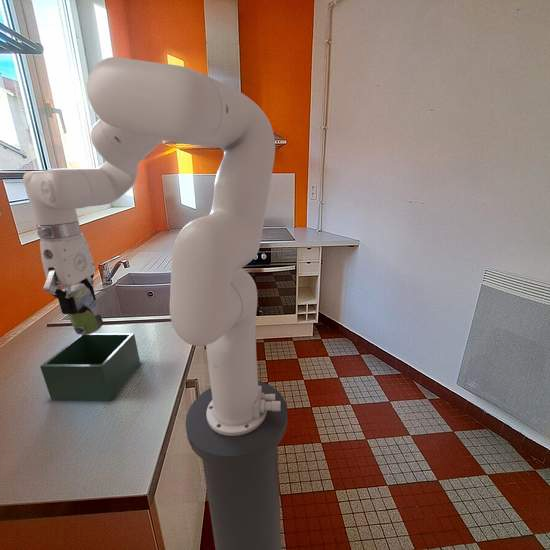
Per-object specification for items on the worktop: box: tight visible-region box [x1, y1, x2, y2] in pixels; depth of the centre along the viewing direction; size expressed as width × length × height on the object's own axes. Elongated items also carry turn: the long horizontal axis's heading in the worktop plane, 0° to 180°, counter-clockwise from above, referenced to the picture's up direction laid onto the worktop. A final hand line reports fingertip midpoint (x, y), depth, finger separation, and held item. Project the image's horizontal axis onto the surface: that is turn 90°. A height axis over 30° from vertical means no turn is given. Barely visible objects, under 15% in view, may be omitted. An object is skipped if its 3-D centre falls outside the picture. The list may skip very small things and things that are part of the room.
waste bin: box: [39, 332, 141, 402], centre depth 76 cm, size 15×15×10 cm
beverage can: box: [61, 283, 104, 335], centre depth 71 cm, size 6×7×12 cm
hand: (80, 306), depth 71 cm, fingers closed on beverage can, 6 cm apart
